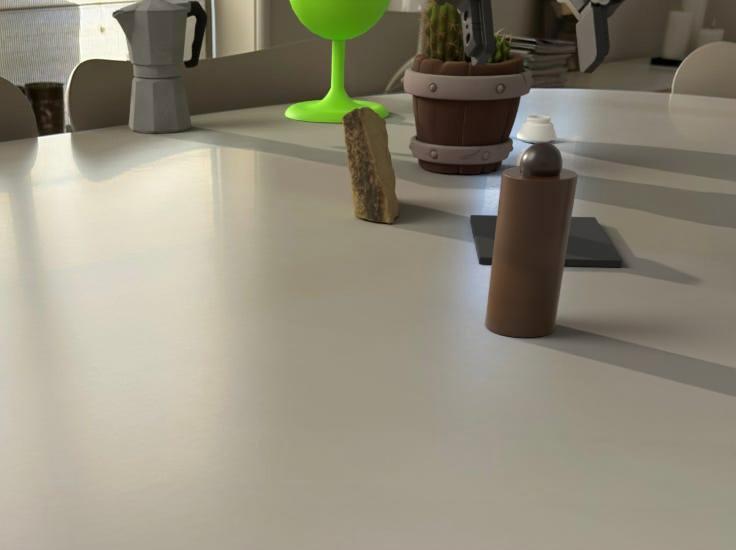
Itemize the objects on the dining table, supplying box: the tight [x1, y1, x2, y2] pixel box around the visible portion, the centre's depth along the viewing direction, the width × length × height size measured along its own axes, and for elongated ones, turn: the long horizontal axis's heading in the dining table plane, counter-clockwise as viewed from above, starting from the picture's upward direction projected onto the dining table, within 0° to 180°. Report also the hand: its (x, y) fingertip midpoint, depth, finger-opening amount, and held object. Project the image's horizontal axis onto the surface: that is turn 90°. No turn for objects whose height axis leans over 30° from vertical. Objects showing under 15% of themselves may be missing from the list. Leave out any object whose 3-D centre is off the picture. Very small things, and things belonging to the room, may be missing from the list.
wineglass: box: [284, 0, 392, 124], centre depth 158 cm, size 16×16×18 cm
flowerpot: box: [400, 0, 535, 175], centre depth 122 cm, size 14×15×20 cm
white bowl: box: [516, 114, 557, 144], centre depth 141 cm, size 5×3×5 cm
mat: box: [469, 214, 623, 268], centre depth 97 cm, size 12×16×1 cm
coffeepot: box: [111, 0, 208, 134], centre depth 149 cm, size 15×9×18 cm, turn 128°
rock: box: [341, 107, 400, 225], centre depth 107 cm, size 11×9×10 cm
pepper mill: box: [484, 142, 579, 339], centre depth 74 cm, size 5×5×12 cm
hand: (539, 63), depth 74 cm, fingers open, 8 cm apart
